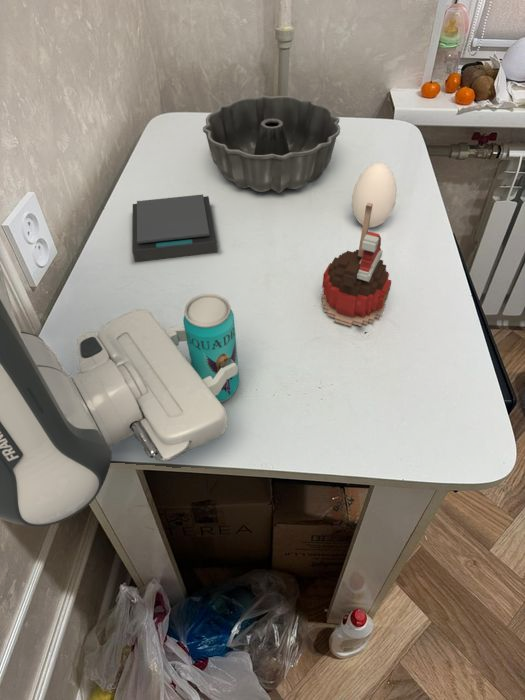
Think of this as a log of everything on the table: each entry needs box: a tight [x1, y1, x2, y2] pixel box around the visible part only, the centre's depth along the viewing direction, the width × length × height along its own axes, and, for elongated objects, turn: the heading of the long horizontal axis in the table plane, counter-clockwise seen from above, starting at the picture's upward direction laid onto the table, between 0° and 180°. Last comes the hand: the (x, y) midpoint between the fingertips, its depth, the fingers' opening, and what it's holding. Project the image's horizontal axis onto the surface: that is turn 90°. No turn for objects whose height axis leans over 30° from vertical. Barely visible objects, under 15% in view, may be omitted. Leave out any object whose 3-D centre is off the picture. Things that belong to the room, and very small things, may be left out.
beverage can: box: [182, 293, 240, 403], centre depth 61 cm, size 6×6×15 cm
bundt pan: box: [202, 95, 341, 194], centre depth 100 cm, size 26×26×10 cm
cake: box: [320, 203, 392, 327], centre depth 70 cm, size 11×9×18 cm
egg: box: [351, 162, 397, 228], centre depth 86 cm, size 7×7×12 cm
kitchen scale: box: [131, 194, 218, 263], centre depth 89 cm, size 14×14×4 cm
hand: (219, 346), depth 61 cm, fingers closed on beverage can, 6 cm apart
